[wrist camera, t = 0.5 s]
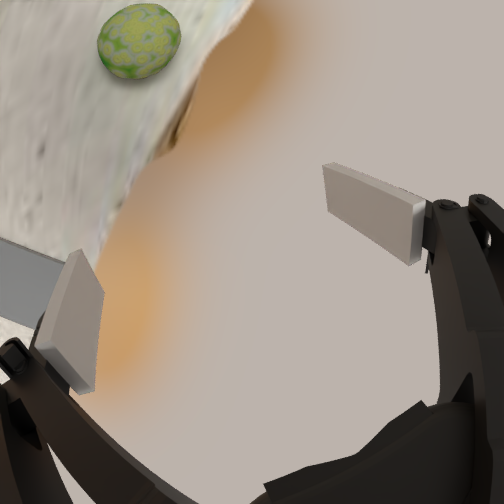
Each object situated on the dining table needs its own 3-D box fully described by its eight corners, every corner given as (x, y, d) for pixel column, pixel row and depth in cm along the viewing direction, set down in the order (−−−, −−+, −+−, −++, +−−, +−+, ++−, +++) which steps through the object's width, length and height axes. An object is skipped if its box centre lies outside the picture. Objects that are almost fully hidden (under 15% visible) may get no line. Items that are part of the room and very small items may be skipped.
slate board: (-9, 309, 35) (-10, 311, 34) (-3, 235, 32) (-5, 237, 31) (59, 334, 41) (58, 337, 41) (73, 265, 38) (72, 267, 38)
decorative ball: (188, 33, 31) (203, 8, 23) (153, 94, 33) (157, 83, 25) (125, 10, 26) (123, -20, 18) (89, 71, 29) (73, 55, 20)
